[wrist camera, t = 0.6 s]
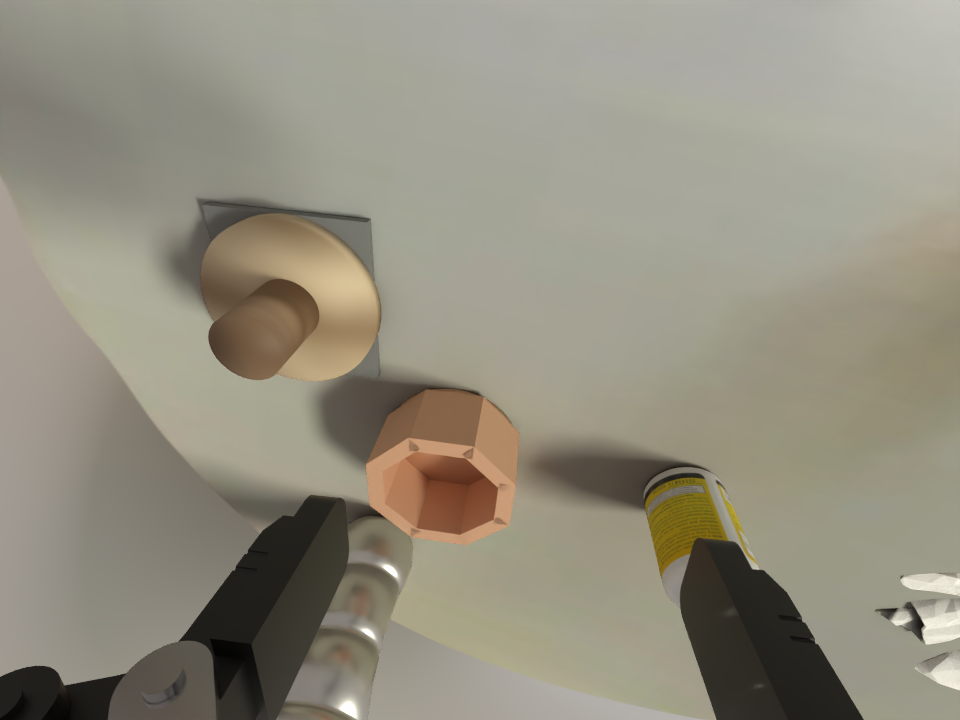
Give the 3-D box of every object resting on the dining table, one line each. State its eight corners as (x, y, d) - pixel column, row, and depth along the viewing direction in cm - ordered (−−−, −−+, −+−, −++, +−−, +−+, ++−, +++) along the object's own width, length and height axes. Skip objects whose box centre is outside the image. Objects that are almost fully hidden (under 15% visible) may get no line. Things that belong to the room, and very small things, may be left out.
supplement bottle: (626, 499, 33) (654, 641, 25) (673, 453, 30) (721, 596, 22) (689, 525, 34) (735, 671, 26) (740, 482, 31) (811, 631, 23)
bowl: (388, 380, 30) (362, 431, 25) (524, 398, 29) (521, 453, 25) (392, 475, 35) (372, 531, 30) (509, 491, 34) (505, 550, 30)
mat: (208, 201, 24) (201, 204, 24) (370, 219, 24) (366, 222, 23) (247, 356, 30) (242, 361, 29) (380, 373, 29) (377, 378, 29)
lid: (192, 203, 24) (108, 236, 19) (376, 223, 23) (334, 262, 19) (235, 360, 30) (177, 415, 25) (385, 379, 29) (354, 439, 24)
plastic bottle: (329, 525, 39) (170, 866, 22) (375, 493, 36) (230, 860, 19) (387, 562, 41) (280, 900, 24) (435, 534, 38) (351, 899, 21)
